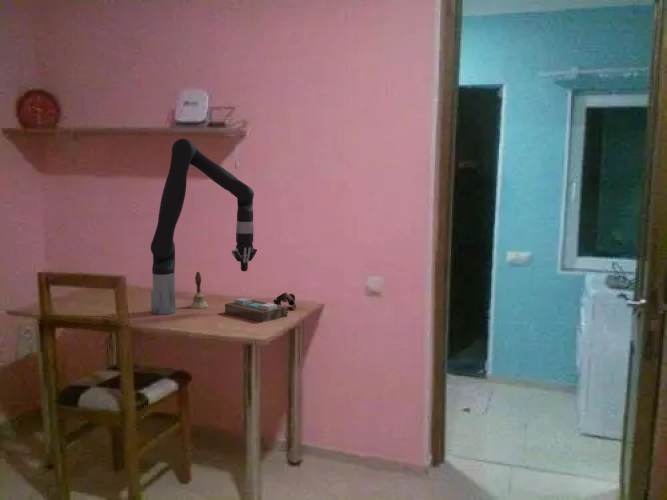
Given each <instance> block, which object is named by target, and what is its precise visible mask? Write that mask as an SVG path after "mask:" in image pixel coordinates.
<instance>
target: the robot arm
mask: <svg viewBox="0 0 667 500" xmlns="http://www.w3.org/2000/svg"><path fill="white" fill-rule="evenodd" d="M170 157H171V158H170V165H169V171H168V174H167V177H166V179H165V183H164V187H163V190H162V195H161V199H160V203H159V204H160V205H159V209H158V218H157V219H158V220H157V224H156V227H155V228H156V229H155V233H154V235H153V239H152V241H151V244H150V251H151V254H152V267H151V270H152V290H151V291H150V305H151V306H150V308H151V309H150V311H151V313H152V314H155V315H159V316H160V315H172V314H174V313H176V283H175V282H176V278H175V277H176V275H175V274H176V272H175V270H176V269H175V268H176V267H175V266H176V244H175V241H174V235H175V229H176V227H177V223H178V221H179V218H180V216H181V213H182V210H183V207H184V203H185V198H186V193H187V177H188V171H189V169H190V165H191V166H193V167H195V168H196V169H197V170H199V171H200V172H202V173H203V174H205V176H207V177H208V178H209V179H210V180H211V181H213V182H214V183H216V185H218V186H220V187H221V188H222V189H224V190H226V191H228V192H229V193H230V194H231V195H233V196H234V197H235V198H236V201H237V210H236V225H235V226H236V227H235V242H236V246H235V249H234V250H232V251H231V255H233V257H234V259H235V260H236V261H237V262H240V271H241V272H247V271H248V268H249V262H251V261H252V260H253V259H254V257H255V255H256V253H257V251H258V250H257V249H255V248H254V245H253V243H254V230H255V229H254V210H253V205H254V202H253V201H254V197H255V196H254V195H255V194H254V189H252V187H251V186H249V185H247V184H246V183H244V182H243V181H241V180H239V179H238V178H237V177H236V176H235V175H233V173H231V172H229V170H227V169H225V168H224V167H222V166H221V165H219V164H218V163H216V162H214V161H212V160H211V159H210V158H208V157H207V156H206V155H204V153H202V152H201V151H200V150H199V149H198V148H197V147H196V146H195V145H194V143H193V142H192V141H191V140H189V139H187V138H179V139H176V141H174V143H173V144H172V146H171V155H170Z"/></svg>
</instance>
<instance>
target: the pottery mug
mask: <svg viewBox="0 0 667 500" xmlns="http://www.w3.org/2000/svg"><path fill="white" fill-rule="evenodd" d="M272 302H273V304H276V305H280V306H282V302H283V303H287V304H288V305H289V306H291V308H292V311H295V310H296V309H297V305H296V296H295V294H294V293H289V294H288V293H287V292H283V293H282V294H279V295H278V296H277V297H275V298H274V299H273V301H272Z"/></svg>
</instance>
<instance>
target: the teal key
mask: <svg viewBox="0 0 667 500" xmlns="http://www.w3.org/2000/svg"><path fill="white" fill-rule="evenodd" d="M260 305H262V304H258V303H254V304H249V305H248V306H250V307H254V308H256V307H260Z"/></svg>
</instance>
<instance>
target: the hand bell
mask: <svg viewBox="0 0 667 500" xmlns="http://www.w3.org/2000/svg"><path fill="white" fill-rule="evenodd" d="M195 273H196V274H195V277H194V279H195V284H196V294H194V295H193V299H192V303H191V304H190V305H189V308H190V309H193V310H195V309H196V310H198V309H199V310H200V309H207V308H209V304H208V303H207V302H206V299H205V294H202V291H201V283H202V276H201V273H200V271H196V272H195Z"/></svg>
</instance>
